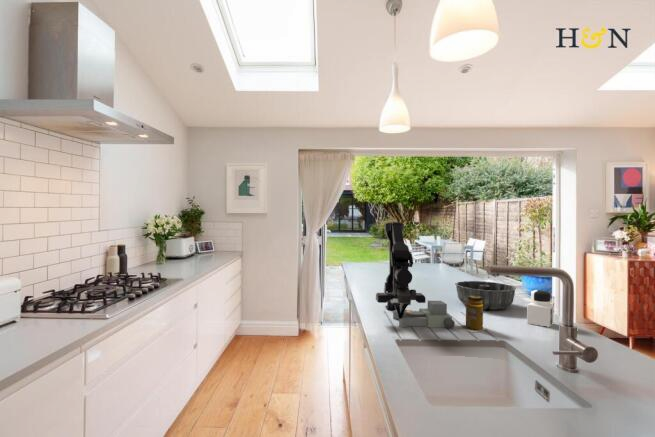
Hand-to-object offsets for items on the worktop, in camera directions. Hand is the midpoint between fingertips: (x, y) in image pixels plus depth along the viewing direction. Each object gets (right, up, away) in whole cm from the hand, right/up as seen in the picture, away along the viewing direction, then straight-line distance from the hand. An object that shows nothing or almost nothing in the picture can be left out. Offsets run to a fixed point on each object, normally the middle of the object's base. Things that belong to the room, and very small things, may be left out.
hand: (400, 319), depth 137 cm
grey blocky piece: (+9, -1, 0) cm, 9 cm away
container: (+56, -2, 0) cm, 56 cm away
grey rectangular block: (+6, -2, 0) cm, 6 cm away
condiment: (+26, -2, -6) cm, 27 cm away
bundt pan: (+46, -2, +28) cm, 54 cm away
